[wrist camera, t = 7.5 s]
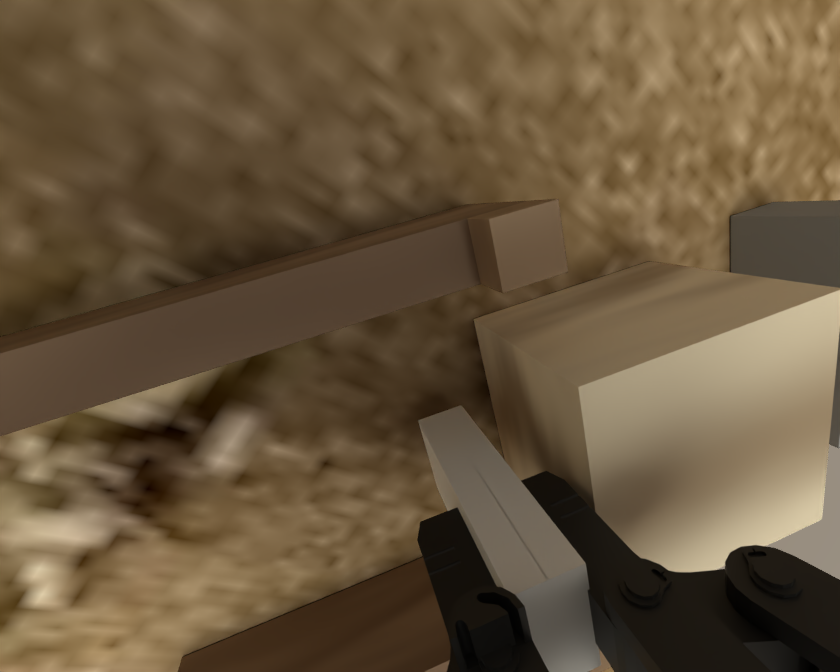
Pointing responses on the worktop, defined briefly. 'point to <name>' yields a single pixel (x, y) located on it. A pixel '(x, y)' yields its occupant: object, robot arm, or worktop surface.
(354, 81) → the worktop surface
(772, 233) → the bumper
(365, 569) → the worktop surface
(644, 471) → the block
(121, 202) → the worktop surface
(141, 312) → the chute
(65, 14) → the worktop surface
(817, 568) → the robot arm
